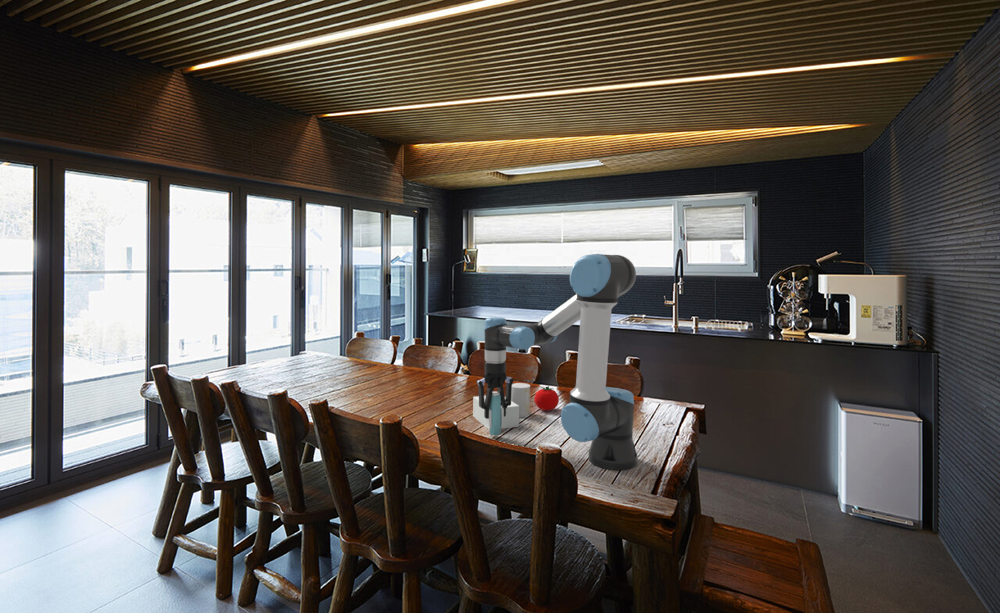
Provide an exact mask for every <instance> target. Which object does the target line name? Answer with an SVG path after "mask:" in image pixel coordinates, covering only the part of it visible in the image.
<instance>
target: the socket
mask: <svg viewBox="0 0 1000 613" xmlns="http://www.w3.org/2000/svg"><path fill="white" fill-rule="evenodd" d="M485 398H486V395H484V400H485ZM505 398H506V396H505ZM472 416H473V418H474V419H476V420H477V421H478V422H479V423H480V424H482V425H483V426H484V427H485V428H486V429H487V428H488V427H487V419H486V418H485V417H484V409H482V408H481V407H479V395H478V396H473V398H472ZM515 427H516V428H518V427H520V417H519V405H517V404H515V403H514V402H512V401H511V405H510V406H507V408H506V416H505V417H504V427H501V428H503V429H509V428H515ZM488 430H489V431H490V428H488Z"/></svg>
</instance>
